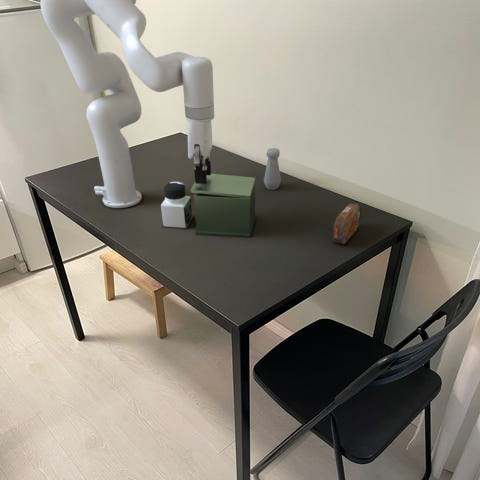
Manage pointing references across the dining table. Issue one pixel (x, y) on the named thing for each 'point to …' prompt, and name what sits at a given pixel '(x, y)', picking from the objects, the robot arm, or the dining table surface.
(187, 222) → the medicine bottle
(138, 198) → the robot arm
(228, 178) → the bin lid
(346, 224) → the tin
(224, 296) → the dining table surface
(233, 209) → the bin
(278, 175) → the salt shaker
